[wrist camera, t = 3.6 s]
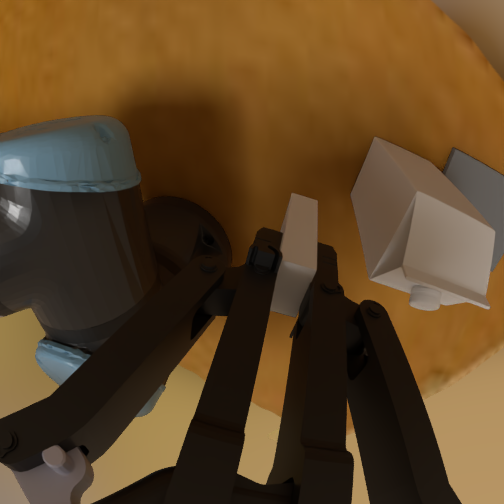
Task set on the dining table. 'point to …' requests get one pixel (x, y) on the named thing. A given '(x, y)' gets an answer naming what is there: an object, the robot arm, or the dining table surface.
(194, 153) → the dining table surface
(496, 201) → the mat
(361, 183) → the milk carton
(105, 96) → the dining table surface
